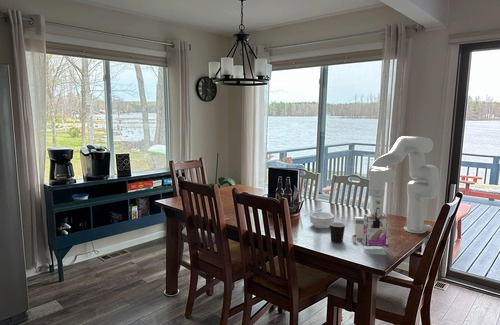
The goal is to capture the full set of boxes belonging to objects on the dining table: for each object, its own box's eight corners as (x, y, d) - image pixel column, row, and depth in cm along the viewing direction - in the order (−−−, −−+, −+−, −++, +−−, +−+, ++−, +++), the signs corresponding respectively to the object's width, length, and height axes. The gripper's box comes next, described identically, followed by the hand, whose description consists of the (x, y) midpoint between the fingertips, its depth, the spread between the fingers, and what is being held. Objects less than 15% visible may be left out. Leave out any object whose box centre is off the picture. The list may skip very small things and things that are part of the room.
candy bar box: (365, 246, 178) (366, 216, 176) (362, 243, 183) (363, 214, 181) (386, 246, 178) (387, 216, 176) (382, 242, 183) (383, 213, 181)
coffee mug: (333, 237, 200) (333, 221, 199) (347, 240, 195) (347, 224, 193) (324, 243, 191) (324, 226, 190) (338, 246, 186) (338, 229, 184)
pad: (381, 247, 184) (382, 246, 184) (386, 254, 174) (386, 253, 174) (362, 247, 185) (362, 246, 185) (366, 253, 176) (366, 252, 176)
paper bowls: (332, 231, 212) (332, 219, 211) (308, 228, 216) (308, 216, 215) (334, 224, 226) (335, 212, 225) (311, 222, 231) (312, 210, 230)
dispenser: (382, 237, 200) (383, 217, 198) (387, 244, 189) (388, 223, 187) (350, 236, 203) (350, 216, 201) (353, 242, 191) (353, 222, 190)
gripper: (387, 196, 168) (386, 231, 170) (380, 189, 185) (378, 221, 187) (372, 196, 169) (370, 231, 171) (365, 189, 186) (364, 221, 188)
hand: (375, 225), depth 179 cm, fingers closed on candy bar box, 5 cm apart
